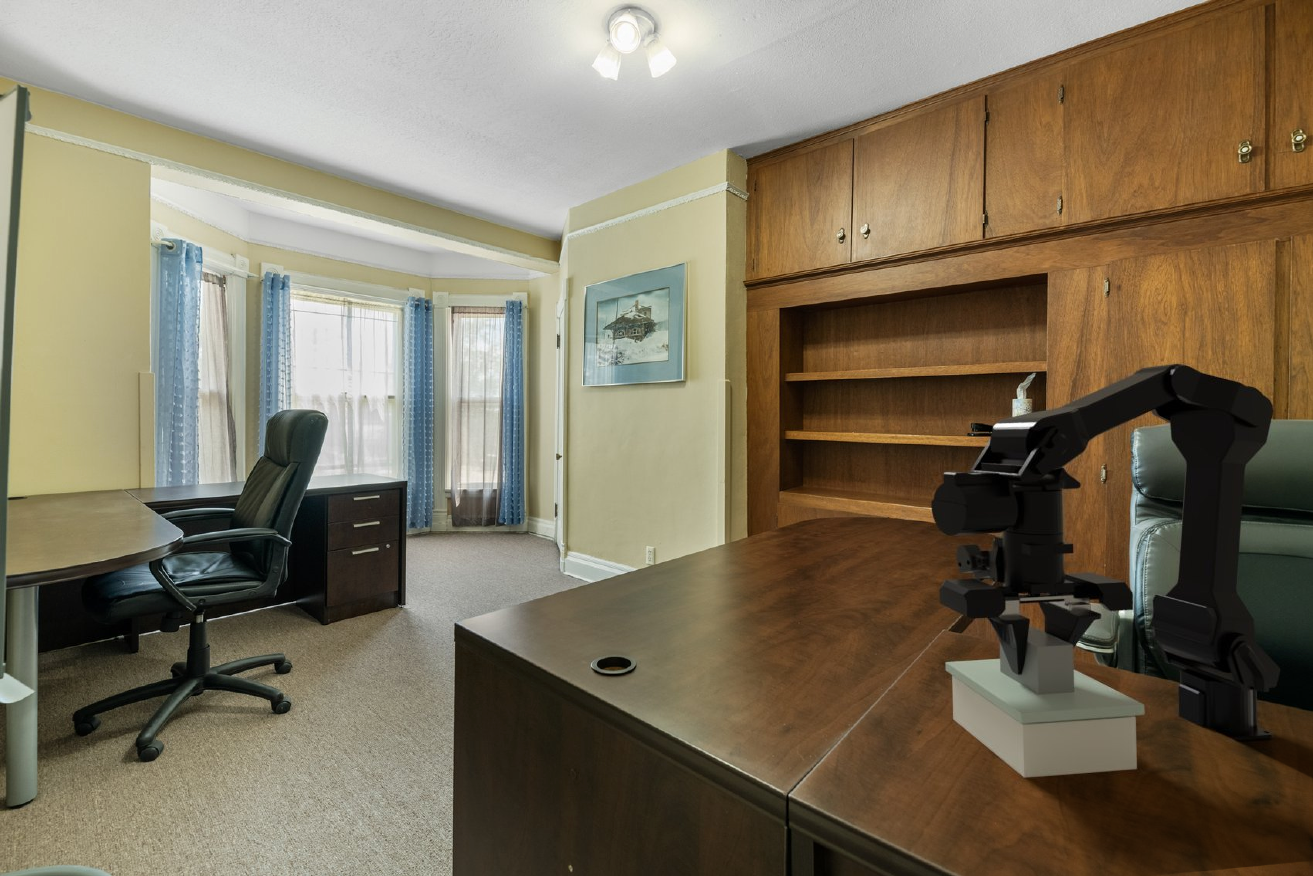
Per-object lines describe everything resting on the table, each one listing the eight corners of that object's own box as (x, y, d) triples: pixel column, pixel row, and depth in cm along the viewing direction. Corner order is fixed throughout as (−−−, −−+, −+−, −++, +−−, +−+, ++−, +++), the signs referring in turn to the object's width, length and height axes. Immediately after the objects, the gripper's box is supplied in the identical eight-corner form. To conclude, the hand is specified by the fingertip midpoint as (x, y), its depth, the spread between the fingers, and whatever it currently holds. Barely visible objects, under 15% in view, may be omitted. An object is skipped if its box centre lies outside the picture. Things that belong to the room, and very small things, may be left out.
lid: (1047, 672, 71) (1046, 615, 71) (1144, 724, 58) (1143, 654, 58) (945, 678, 70) (944, 620, 70) (1021, 733, 57) (1020, 662, 57)
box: (1047, 719, 71) (1046, 669, 71) (1136, 776, 59) (1135, 717, 59) (953, 725, 70) (952, 675, 70) (1024, 785, 58) (1023, 724, 58)
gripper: (1056, 517, 73) (1059, 641, 73) (912, 523, 72) (915, 650, 72) (1136, 532, 62) (1139, 678, 62) (968, 539, 60) (972, 689, 61)
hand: (1035, 672), depth 64 cm, fingers closed on lid, 4 cm apart
